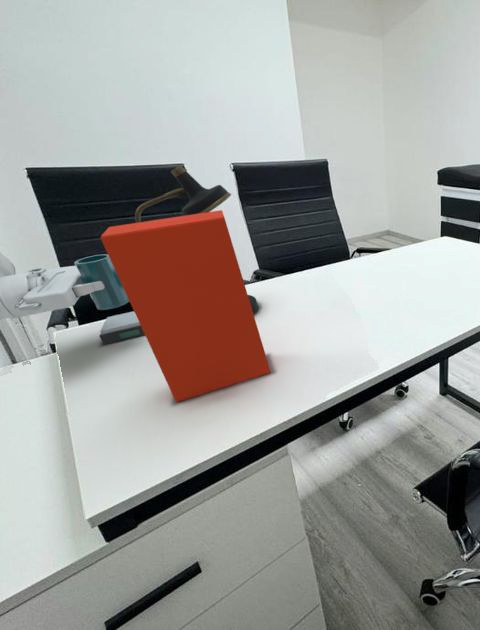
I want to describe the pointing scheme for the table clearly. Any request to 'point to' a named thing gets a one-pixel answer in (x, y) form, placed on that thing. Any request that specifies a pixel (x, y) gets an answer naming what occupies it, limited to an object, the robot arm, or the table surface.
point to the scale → (121, 328)
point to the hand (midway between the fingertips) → (107, 278)
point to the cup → (103, 270)
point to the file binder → (189, 300)
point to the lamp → (195, 202)
